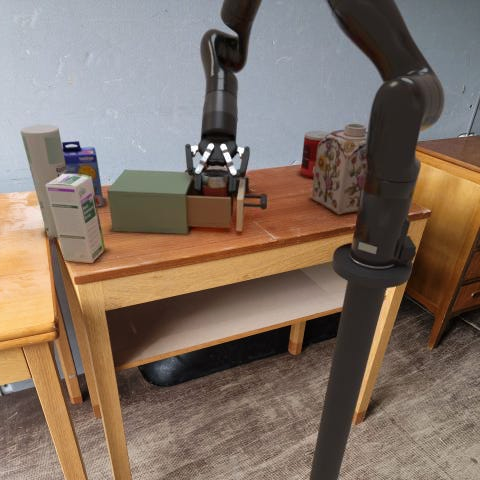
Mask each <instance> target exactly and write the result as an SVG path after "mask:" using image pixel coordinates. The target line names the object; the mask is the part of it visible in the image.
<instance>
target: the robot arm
mask: <svg viewBox="0 0 480 480" xmlns="http://www.w3.org/2000/svg"><path fill="white" fill-rule="evenodd" d="M323 1H324V2H325V4H326V7H327V9H328V11H329V13H330V15H331V17H332V19H333V20H334V22H335V24H336V26H337V27H338V29H339V30H340V31H341V33H343V35H345V37H346V38H347V39H348V40H349V41H350V42H351V43H352V44H353V45H354V46H355V48H357V49H358V50H359V52H361V53H362V54H363V55H364V56H365V57H366V59H368V60H369V62H370V63H371V64H372V65H373V66H374V68H375V70H376V71H377V73H378V75H379V77H380V79H381V80H382V84H381V85H380V86H379V87H378V88H377V91H376V92H375V94H374V97H373V100H372V103H371V108H370V111H369V117H368V124H367V129H366V132H367V138H366V145H365V158H366V162H367V165H366V171H365V177H364V182H363V187H362V193H361V198H360V203H359V208H358V211H357V214H356V219H355V226H354V230H353V234H352V241H351V243H352V245H351V251H350V253H349V258H350V260H351V261H352V262H353V263H355V264H356V265H358V266H361V267H364V268H367V269H372V270H386V269H390V268H392V267H399V264H400V260H404V261H405V263H406V262H407V261H412V262H413V261H414V258H415V256H416V255H417V253H416V250H417V246H416V244H415V243H414V242H413V241H414V240H412V238H411V236H410V235H408V233H409V229H410V225H411V220H410V219H409V215H410V210H411V208H412V207H411V206H412V202H413V200H414V195H415V191H416V187H417V183H418V179H419V176H420V172H421V168H422V162H421V160H420V159H419V158H418V157H417V155H416V152H417V148H418V147H417V146H418V142H419V137H420V132H424V131H425V130H428V129H429V128H431V127H432V126H434V125H435V124H436V123H437V122H438V121H439V119H440V118H441V116H442V114H443V111H444V108H445V103H446V101H445V100H446V99H445V98H446V97H445V96H446V95H445V90H444V87H443V85H442V83H441V80H440V79H439V77H438V76H437V74H436V72H435V71H434V69H433V67H432V66H431V65H430V63H429V61H428V60H427V59H426V57H425V56H424V53H423V52H422V51H421V50H420V48H419V46H418V45H417V43H416V41H415V40H414V37H413V36H412V34H411V32H410V30H409V27H408V26H407V24H406V21H405V19H404V16H403V15H402V12H401V11H400V8H399V6H398V4H397V2H396V0H323ZM262 2H263V0H223V2H222V5H221V8H220V15H219V16H220V19H221V22H222V23H223V24H224V25H225V26H226V27H227V28H228V29H230V30H231V31H233V33H235V34H236V35H233V34H231V33H228V32H225V31H222V30H219V29H217V28H210V29H208V30H206V31H205V33H203V35H202V38H201V39H200V45H199V55H200V56H199V57H200V61H201V65H202V69H203V75H204V80H205V91H204V100H203V101H204V102H203V106H202V115H201V129H200V130H201V131H200V141H199V142H198V144H197V145H191V144H190V143H186V144H185V145H184V151H185V163H186V170H187V171H188V174H189V175H190V176H195V184H194V187H195V191H196V192H197V193H198V195H202V184H201V183H202V175H201V174H202V172H203V171H205V170H207V169H208V168H209V166H221V167H225V168H226V169H227V171H228V172H229V174H230V177H229V196H232V194H235V192H236V180H237V179H238V178H244V177H245V176H246V175H247V170H248V165H249V161H250V157H251V156H250V155H251V148H250V146H247V145H246V146H245V147H239V146H238V144H237V131H238V122H239V118H238V113H239V109H238V94H239V91H238V90H239V80H238V77H237V76H236V74H239V73H241V72H242V71H243V70H244V68H245V67H246V65H247V62H248V56H249V46H250V39H251V35H252V30H253V25H254V22H255V19H256V17H257V15H258V13H259V9H260V7H261V5H262ZM197 153H198V154H199V155H200V156H201V157H200V160H199V163H198V164H197V166H196V167H195V166H194V159H193V158H195V157H196V156H197ZM237 155H239V159H240V160H241V161H240V164H239V165H240V166H239V168H238V169H236V166H235V165H234V162H233V159H234V158H235V157H236V156H237Z"/></svg>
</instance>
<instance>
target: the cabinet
mask: <svg viewBox="0 0 480 480" xmlns="http://www.w3.org/2000/svg"><path fill="white" fill-rule="evenodd" d="M193 179H195V178H194V176H190V175H189V174H188V172H185V171H169V170H167V171H166V170H142V169H141V170H140V169H124V170H123V171H121V174H120V175H119V176H118V177H117V178H116V179H115V181H114V182H113V183H112V184H111V185H110V187H108V189H107V190H106V193H107V200H108V207H109V213H110V219H111V225H112V231H113V232H129V233H131V232H132V233H154V234H173V235H174V234H176V235H177V234H178V235H188V232H189V229H190V227H191V226H187V208H186V195H187V192H188V190H189V188H190V185H191V183H192V180H193Z"/></svg>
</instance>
